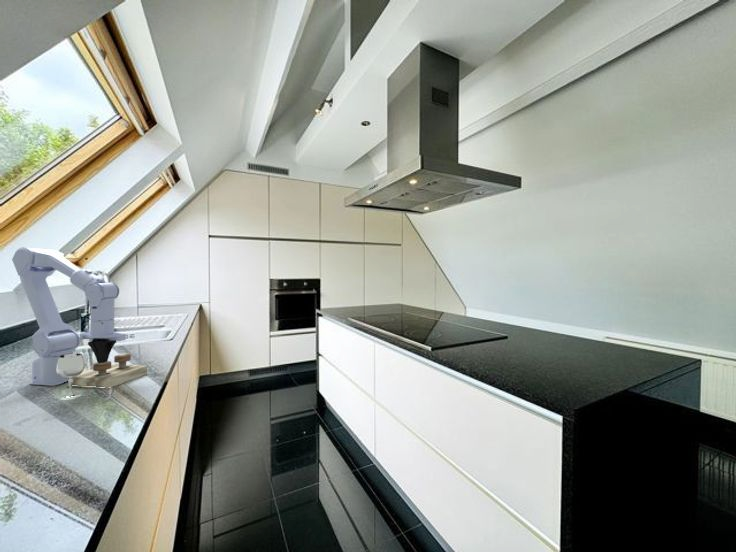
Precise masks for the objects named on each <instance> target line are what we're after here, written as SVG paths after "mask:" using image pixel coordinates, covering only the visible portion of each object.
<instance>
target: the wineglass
mask: <svg viewBox="0 0 736 552" xmlns="http://www.w3.org/2000/svg"><path fill="white" fill-rule="evenodd" d="M85 364H86V363H85V359H84V356H83V353H80V352H79V353H78V352H77V353H76V352H75V353H73V354H67V355H62V356H60V357H59V359H58V362H57V367H56V372H57V374H58V376H60V377H62V378H69V381H68V382H67V383H68V387H69V392H68V394H67V395H64V396H65V397H64V396H63V397H64V398H70V397H74V396H76V395H77V394H78V393H73V390H72V389H73V388H72V387H73V386H72V383H73V379H72V378H73V377H76V376H78V375H80V374H81V373H82V372H84V370H85Z"/></svg>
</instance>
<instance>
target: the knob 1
mask: <svg viewBox="0 0 736 552" xmlns="http://www.w3.org/2000/svg"><path fill="white" fill-rule="evenodd" d="M92 364H93V365H92V369H93V371H98V376H104V375H106V370H107V369H110V368H111V364H112V361H110V360H108V361H107V362H104V363H98V362H94V363H92Z"/></svg>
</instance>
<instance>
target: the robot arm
mask: <svg viewBox="0 0 736 552" xmlns="http://www.w3.org/2000/svg"><path fill="white" fill-rule="evenodd" d="M65 257H66V256H65V254H64V253H63V252H60V250H57V249H46V248H33V247H32V248H30V247H26V246H25V247H24V246H23V247H19V248H18V249H17V250H16V251H15V252H14V254H13V256H12V259H11V260H12V262H13V266H14V268H15V270H16V272H17V276H19V279H20V281H21V282H20V283H21V284H22V288H23V290H24V292H25V295H26V297H27V300H28V303H29V305H30V307H31V310H32V312H33V314H34V318H35V319H36V322H37V325H38V327H39V328H38V330H37V331H35V332H34V333H33V335H32V336H31V338H32V339H31V340H32V342H33V343H32V349H33V351H34V353H35V354H36V355H37V356H36V357H35V358H34V359H33V362H32V365H31V367H32V368H31V370H32V371H31V374H32V375H31V376H32V378H31V381H30V382H28V385H35V386H36V385H37V386H51V387H53V386H59V385H61V384H65V383H68V382H67V381H69V378H62V377H60V376H58V374H57V372H56V367H57V362H58V359H59V357H60V356H62V355H67V354H74V352H76V349H77V348H78V347H79V346H80V343H81V340H91V341H88V342H87V345H88V346H89V348H91V350H92V352H93V354H94V356H95V360H96V361H97V362H98V363H104V362H107V361H109V357H110V354H111V351H112V350H113V348H114V346H115V345H116V343H117V342H122V341H126V333H119V332H115V300H116V299H117V298H118V297H119V295H120V288H119V286H118V285H117V284H116V283H115V282H114V281H105V279H104V278H103V277H99V276H97V275H96V274H94V273H93V272H94V271H93V270H91V269H84V268H83V269H80V268H79V267H77V265H75V264H74V263H72V262H71V261H70V260H68V259H67V258H65ZM56 271H57V272H60V273H62V274H63V275H65V276H67V277H68V278H69V283H71V284H72V285H73V286H75V287H76V288H79V290H81V291H82V292H84V294H85V297H86V299H87V300H88V301H87V302H88V305H89V307H90V332H89V331H88V332H82V333H78V332H76V330H75V328H74V326H72V325H70V324H68V323H66V322H64V321H63V318H62V316H61V314H60V311H59V309H58V307H57V305H56V302H55V300H54V297H53V294H52V292H51V290H50V287H49V285H48V282H47V278H49V277H50V276H51V277H52V275H53V274H54V273H55V272H56ZM97 362H96V363H97ZM64 382H65V383H64Z"/></svg>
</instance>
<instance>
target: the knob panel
mask: <svg viewBox="0 0 736 552" xmlns="http://www.w3.org/2000/svg"><path fill="white" fill-rule="evenodd" d="M147 368H148V365H146V364H145V365H144V364H142V365H141V364H128V363H126V368H125V369H119V363H111V368H110V369H107V370H106V375H104V376H98V371H93V368H91V369H90V370H86V371H83V372H82V373H81V374H80V375H78V376H76V377H73V378H72V379H73V383H72V385H78V386H96V387H105V388H109V387H112V386H114V387H116V385H117V386H119V385H122V384H124V382H125V383H126V381H127V382H129V380H130V381H132V380H135V379H137V378H141V377H142V376H145V375H147V374H148V369H147ZM121 383H122V384H121ZM118 384H119V385H118ZM112 388H113V387H112ZM109 389H110V388H109Z"/></svg>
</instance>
